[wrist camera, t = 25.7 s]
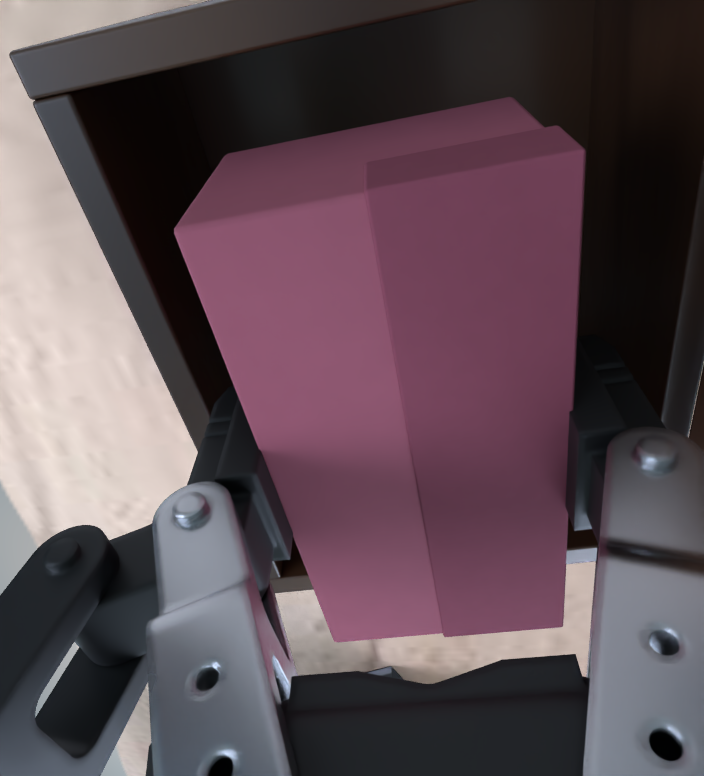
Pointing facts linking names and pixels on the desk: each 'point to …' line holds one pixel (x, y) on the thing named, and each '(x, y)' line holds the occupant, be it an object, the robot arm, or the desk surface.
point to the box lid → (698, 417)
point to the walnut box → (381, 104)
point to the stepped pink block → (407, 357)
